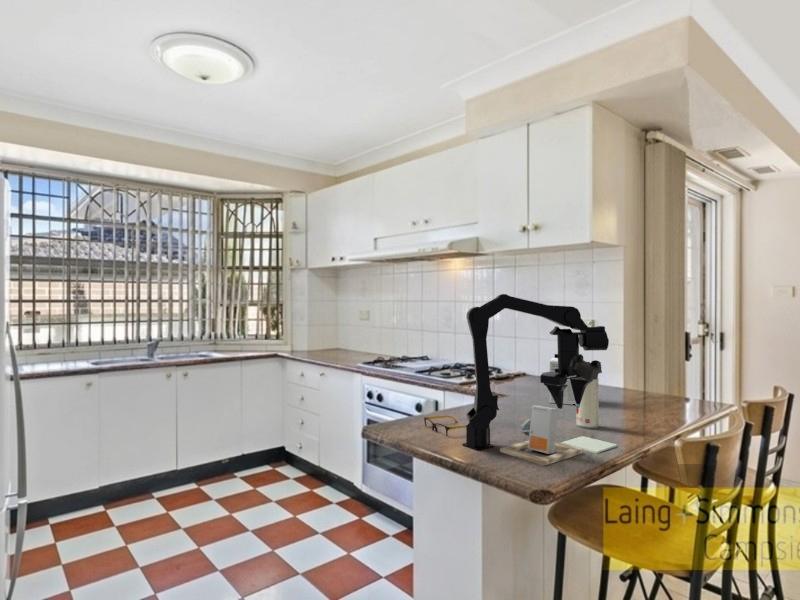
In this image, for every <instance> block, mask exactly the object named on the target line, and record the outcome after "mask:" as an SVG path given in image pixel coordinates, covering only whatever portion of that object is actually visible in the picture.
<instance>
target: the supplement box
mask: <svg viewBox="0 0 800 600" xmlns="http://www.w3.org/2000/svg"><path fill="white" fill-rule="evenodd" d="M557 368H558V358H555V357H551V359H550V360H549V372H555V369H557ZM565 385H568V386H567V387H566V388H565V389H564V394H563V405H564V404H565V405H573V404H575V405H576V401H575V398H574V394H573V390H572V386H571V382H570V379H567V382H566V384H565ZM549 403H550V404H556V403H555V401H554V399H553V397H552V395H551V393H550V392H549ZM575 405H574V406H575Z"/></svg>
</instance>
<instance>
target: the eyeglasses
mask: <svg viewBox="0 0 800 600" xmlns="http://www.w3.org/2000/svg"><path fill="white" fill-rule="evenodd" d="M441 418H442V419H444V418H450V419H453V420H454V422H455V423H459V422H458V420H456V418H454V417H453V416H451V415H441V416H440V415H435V416H426V417H425V416H424V418H423V420H424V426H425V427H426V426H427V421H429V422H430V423H431V425H432V427H431V430H432V431H434V430H435V433H438V432H439V430H438V427H437V425H439V426H442V427H444V428H445V436H446V437H448V431H449V430H450V431H451V430H456V429H457V430H458V429H465V428H466V425H455V426H447V425H444V424H441V423H435V422H433V421H432V420H433V419H441Z"/></svg>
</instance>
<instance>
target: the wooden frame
mask: <svg viewBox="0 0 800 600" xmlns="http://www.w3.org/2000/svg"><path fill="white" fill-rule="evenodd" d="M528 442H529V439H528V440H525V441H521V442H518V443H514V444H511V445H507V446H506V445H505V446H503V447H500V448H499V452H500V453H502V454H506V455H509V456H511V457H515V458H519V459H521V460H525V461H528V462H531V463H534V464H536V465H540V466H547V465H551V464H553V463H557V462H559V461H563V460H565V459H569V458H571V457H572V458H573V457H576V456H578V455H582V454H583V450H582V449H581V448H577V447H573V446H569V445H566V444H562V443H561V442H558V441H555V450H560V451H559V452H557V453H553V454H550V455H547V456H543V457H542V456H541V457H540V456H537V455H534V454H531V453H528V452H524V451H521V450H523V449H528Z"/></svg>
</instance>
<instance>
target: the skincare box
mask: <svg viewBox="0 0 800 600" xmlns="http://www.w3.org/2000/svg"><path fill="white" fill-rule="evenodd" d="M558 416H559V408H554V407H547V406H543V405H532V407H531V415H530V419H531V423H530V430H529V434H528V435H529V436H528V440H529V442H528V448H527V449H528V450H532V451H535V452H538V453H543V454H547V455H549V454H550V455H553V454H555V450H556V449H555V442H557V440H556V437H557V430H558V429H557V428H558V418H559V417H558Z"/></svg>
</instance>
